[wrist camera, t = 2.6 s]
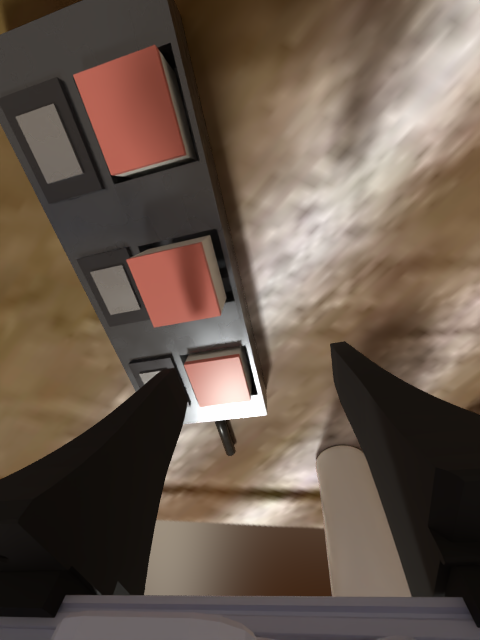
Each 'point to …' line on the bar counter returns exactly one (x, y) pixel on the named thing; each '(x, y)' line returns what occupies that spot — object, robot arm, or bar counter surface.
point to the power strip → (123, 188)
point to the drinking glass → (357, 528)
